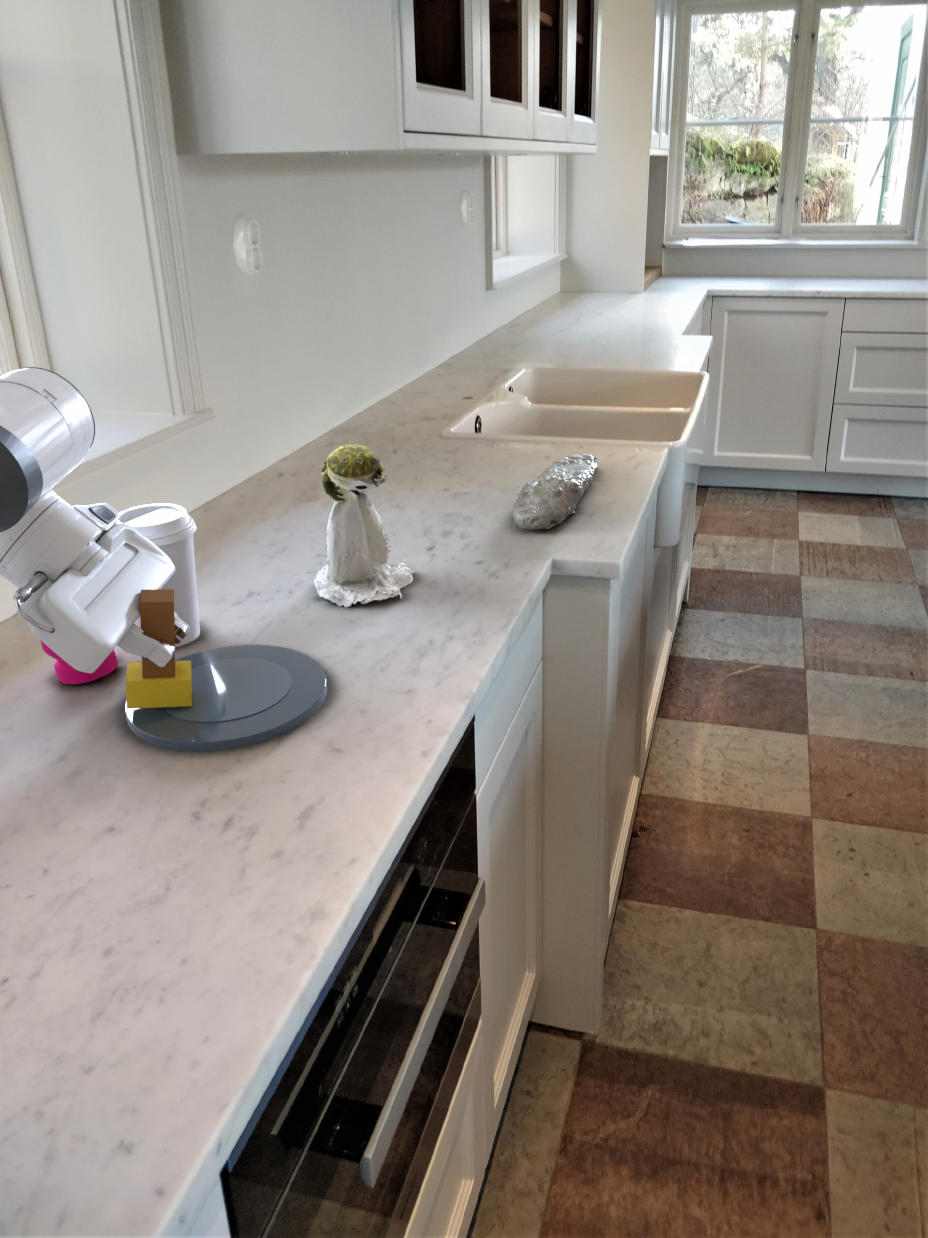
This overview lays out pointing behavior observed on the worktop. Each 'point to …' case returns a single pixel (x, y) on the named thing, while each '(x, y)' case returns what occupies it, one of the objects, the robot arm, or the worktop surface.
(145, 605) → the sponge brush
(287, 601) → the worktop surface
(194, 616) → the coffee cup
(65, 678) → the pepper mill
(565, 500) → the elongated rock
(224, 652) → the plate
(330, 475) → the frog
